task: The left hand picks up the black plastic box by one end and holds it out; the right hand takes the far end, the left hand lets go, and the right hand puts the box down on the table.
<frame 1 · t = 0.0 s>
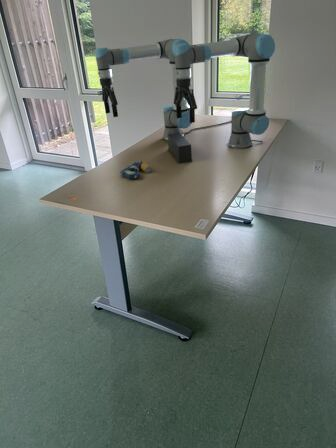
left hand: (111, 114, 206), 28 cm above the table, tool pointing down, fingers open, 13 cm apart
right hand: (185, 120, 181), 28 cm above the table, tool pointing down, fingers open, 13 cm apart
box: (179, 155, 216), on the table
spray gun: (137, 173, 196), on the table
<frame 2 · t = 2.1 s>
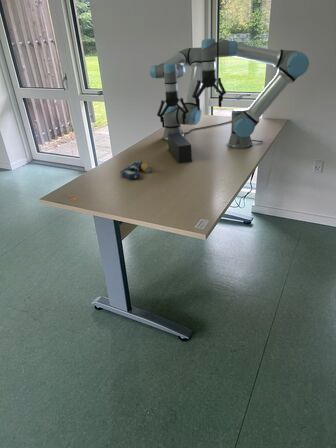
left hand: (173, 125, 216), 17 cm above the table, tool pointing down, fingers open, 13 cm apart
right hand: (209, 108, 201), 28 cm above the table, tool pointing down, fingers open, 13 cm apart
nothing on the table moved.
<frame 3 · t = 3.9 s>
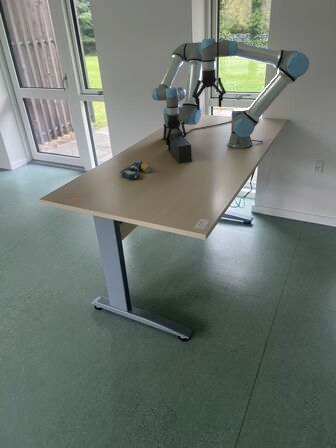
left hand: (175, 148, 224), 1 cm above the table, tool pointing down, fingers closed on box, 8 cm apart
right hand: (209, 108, 201), 28 cm above the table, tool pointing down, fingers open, 13 cm apart
box: (179, 155, 216), on the table, touching left hand
everything else where it was.
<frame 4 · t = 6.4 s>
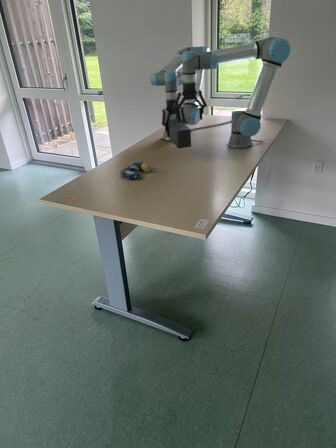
left hand: (174, 134, 219), 10 cm above the table, tool pointing down, fingers closed on box, 8 cm apart
right hand: (190, 120, 198), 23 cm above the table, tool pointing down, fingers open, 13 cm apart
box: (178, 141, 212), point 9 cm above the table, touching left hand
everything else where it was.
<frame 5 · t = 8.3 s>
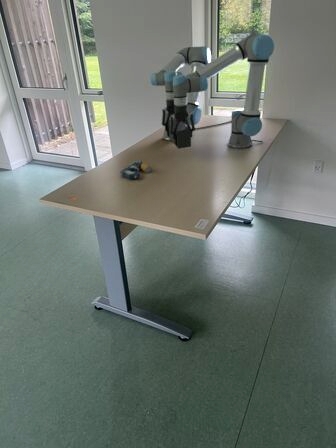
left hand: (174, 134, 219), 10 cm above the table, tool pointing down, fingers closed on box, 8 cm apart
right hand: (182, 143, 202), 11 cm above the table, tool pointing down, fingers closed on box, 8 cm apart
box: (178, 141, 212), point 9 cm above the table, touching left hand, right hand
everything else where it was.
when the left hand's fingers open (10 cm above the table, at t = 9.4 s): box stays where it is, held by the right hand.
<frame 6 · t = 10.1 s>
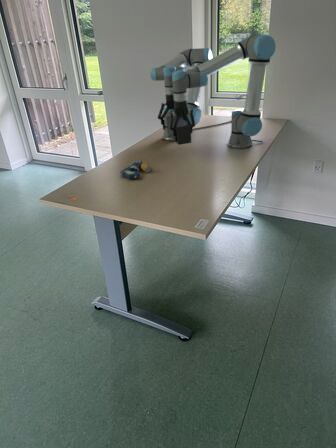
left hand: (174, 127, 219), 15 cm above the table, tool pointing down, fingers open, 13 cm apart
right hand: (183, 139, 201), 13 cm above the table, tool pointing down, fingers closed on box, 8 cm apart
box: (178, 137, 210), point 11 cm above the table, touching right hand
everything else where it was.
when the right hand's fingers open (3 cm above the table, at t = 13.1 s): box drops 2 cm, on the table.
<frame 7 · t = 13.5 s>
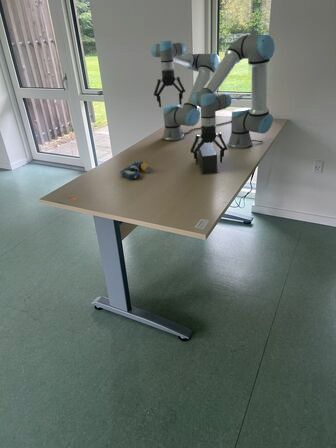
left hand: (170, 105, 215), 28 cm above the table, tool pointing down, fingers open, 13 cm apart
right hand: (209, 163, 187), 5 cm above the table, tool pointing down, fingers open, 13 cm apart
box: (206, 164, 199), on the table
everything else where it was.
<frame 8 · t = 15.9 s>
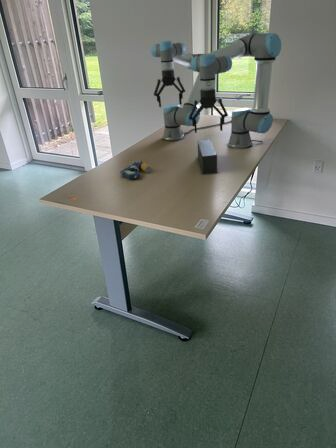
left hand: (170, 105, 215), 28 cm above the table, tool pointing down, fingers open, 13 cm apart
right hand: (208, 131, 178), 23 cm above the table, tool pointing down, fingers open, 13 cm apart
nothing on the table moved.
at the end: box inside the target area (10.0 cm from its centre), on the table; the left hand is holding nothing; the right hand is holding nothing; box at rest at the end (0.0 cm/s) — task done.
